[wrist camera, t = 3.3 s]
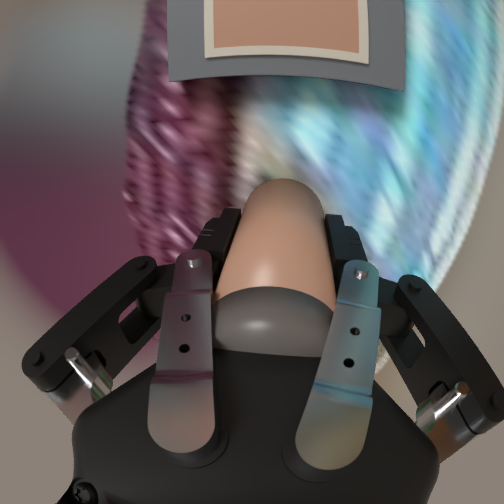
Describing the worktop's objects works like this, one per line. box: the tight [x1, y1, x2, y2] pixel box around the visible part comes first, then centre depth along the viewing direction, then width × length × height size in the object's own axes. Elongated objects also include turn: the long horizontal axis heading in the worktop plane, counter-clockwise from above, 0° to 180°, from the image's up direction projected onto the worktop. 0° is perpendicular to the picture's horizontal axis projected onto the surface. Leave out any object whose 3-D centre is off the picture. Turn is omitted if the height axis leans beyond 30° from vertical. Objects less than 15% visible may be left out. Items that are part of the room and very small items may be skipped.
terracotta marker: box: [212, 178, 336, 357], centre depth 10 cm, size 4×4×9 cm
